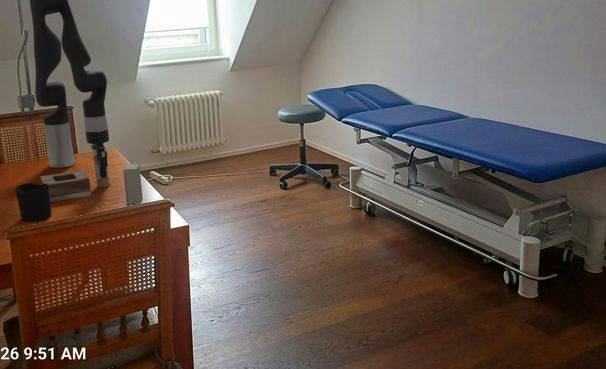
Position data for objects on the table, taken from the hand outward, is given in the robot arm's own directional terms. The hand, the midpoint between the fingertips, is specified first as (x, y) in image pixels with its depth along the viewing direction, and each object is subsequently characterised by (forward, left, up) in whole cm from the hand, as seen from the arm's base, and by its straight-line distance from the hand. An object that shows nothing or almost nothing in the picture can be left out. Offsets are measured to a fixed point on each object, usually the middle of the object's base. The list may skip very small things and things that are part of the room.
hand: (102, 175), depth 224 cm
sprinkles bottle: (0, 0, -4) cm, 4 cm away
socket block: (+3, -13, -4) cm, 14 cm away
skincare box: (+24, +5, -4) cm, 25 cm away
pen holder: (+22, -25, -4) cm, 33 cm away
